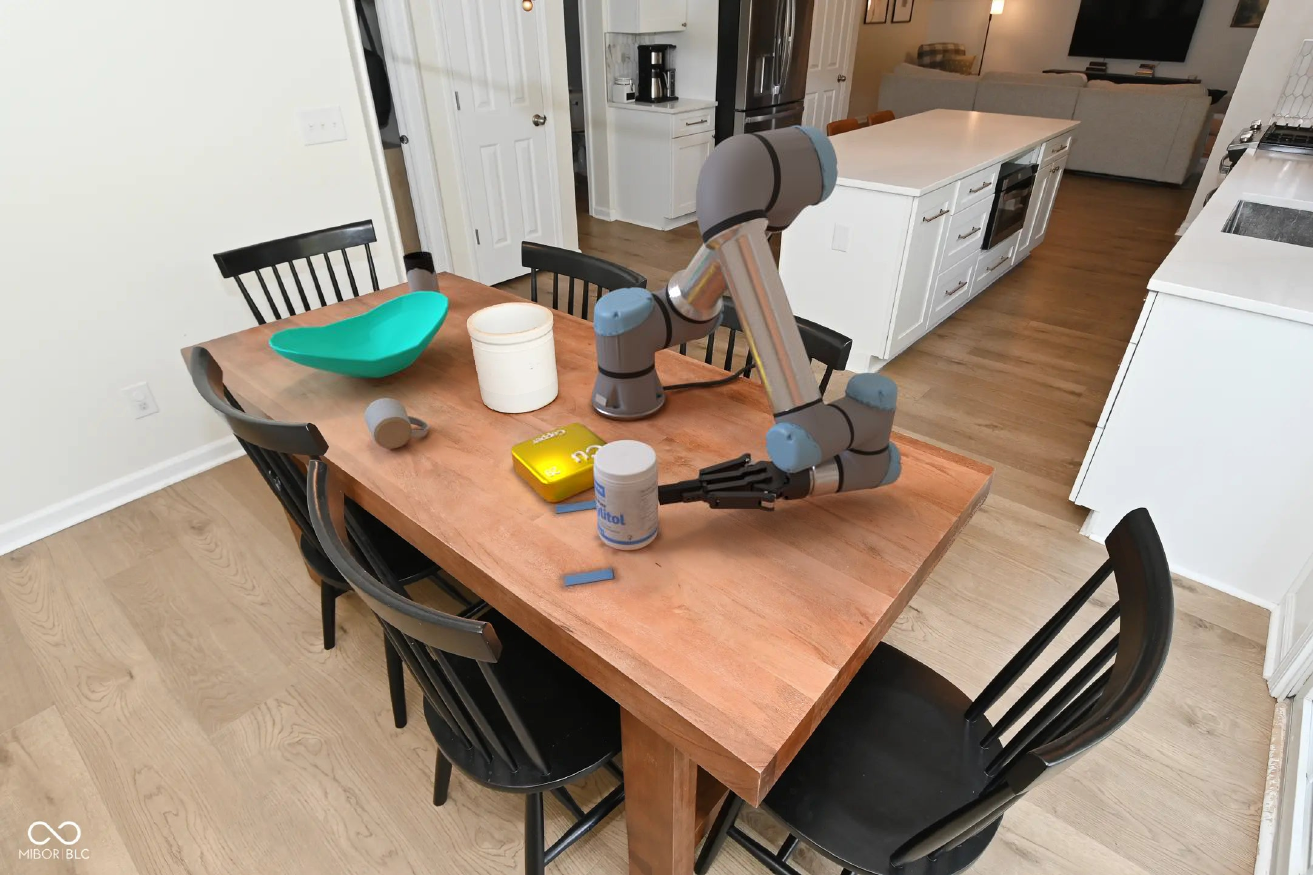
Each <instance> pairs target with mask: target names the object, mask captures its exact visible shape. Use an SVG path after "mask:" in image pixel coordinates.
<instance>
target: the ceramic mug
mask: <svg viewBox="0 0 1313 875" xmlns="http://www.w3.org/2000/svg"><path fill="white" fill-rule="evenodd" d="M364 422H365V424H366V426H367V428H368V430H369V433H370V434H371V437H372V439H373V440H374V442H375V443H376V444H377V445H378V446H379V447H381V448H384V449H387V450H394V449H398V448H402V447H403V446H405V445H406V444H407V443H408V442H409V441H410V440H411V438H423V437H425V436H427V435H428V432H429V424H428V423H427V422H426V421H424V420H423V419H421V418H419V417H415V416H411V415H408V413H407V410H406V408H405V406H404V405H403V403H401V401H398V400H397V399H394V398H390V397H382V398H379V399H376V400H374V401H372V402H371V403H369V405H368V406H367V408H366V410H365V413H364ZM413 425H414V426H417V427H420V428H421V429H420V430H419V429H417V430H416V429H413V427H412V426H413Z"/></svg>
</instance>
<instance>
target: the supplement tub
mask: <svg viewBox="0 0 1313 875" xmlns="http://www.w3.org/2000/svg"><path fill="white" fill-rule="evenodd" d="M607 443H608V444H606V445H604V446H603V447H601V448H600V449H599V450H598V451H597V452H596V454H595V457H594V483H595V486H594V496H595V500H596V508H595V510H596V523H597V532H598V533H597V534H598V536H599V538H600V539H601V541H602V542H603V543H604V544H605V545H607V546H608V547H610V548H612V549H615V550H619V551H635V550H639V549H643V548H644V547H647V546H648V545H650V544H651V543H652V542H653V541H654V540H655V538H656V537H657V535H658V531H659V501H658V486H659V476H658V475H659V469H658V468H659V466H658V464H659V463H658V460H657V459H658V457H657V452H656V451H655V449H654V448H653V447H651V445H649V444H648V443H645V442H642V441H638V440H633V439H620V440H615V441H612V442H607Z"/></svg>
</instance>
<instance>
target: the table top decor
mask: <svg viewBox="0 0 1313 875" xmlns="http://www.w3.org/2000/svg"><path fill="white" fill-rule="evenodd" d="M449 308H450V299H449V298H448V297H447V296H446V295H445V294H443V293H441V292H440V293H436V292H433V291H418V292H414V293H410V292H409V293H406V294H403V295H400V296H397V297H395V298H392V299H390V300H387V301H385V302H383V303H381V304H380V305H378V306H376V307H374V308H372V309H370V310H368V311H367V312H365V313H363V314H360V315H355V316H353V317H349V318H344V319H341V320H337V321H335V322H333V323H329V324H326V325H323V326H299V327H293V328H287V329H282V330H280V331H277V332H275V333H273V334H272V335H271V337H270V338H269V339H268V343H269V345H270V348H272V350H273V351H274V352H275V353H276V355H278V356H280V357H283V358H285V359H286V360H289V361H291V362H293V363H296V364H298V365H301V366H303V367H304V366H305V367H308V368H312V369H314V370H315V369H316V370H320V371H324V372H329V373H333V374H338V375H342V376H348V377H352V378H358V379H363V380H364V379H366V380H369V379H370V380H371V379H382V378H384V377H387V376H391V375H393V374H396V373H398V372H401V371H403V370H404V369H406V368H409V367H410V366H411V365H412V364H413V363H414V362H415V361H416V360H418V358H419V357H420V355H422V353H423V352H424V351H425V350H426V349H427V348H428V346H429V345H430V344H431V342H432V341H433V340H434V338H435V337H436V335H437V333H438V332H439V331H440V329H441V327H442V326H443V325H444V322H445V321H446V318H447V316H448V313H449Z"/></svg>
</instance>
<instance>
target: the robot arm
mask: <svg viewBox="0 0 1313 875" xmlns="http://www.w3.org/2000/svg"><path fill="white" fill-rule="evenodd" d="M837 158H838V157H837V153H836V150H835V148H834V145H833V143H832V141H831V140H830V138H829V137H828V136H827V134H826V133H825V132H823V131H822V130H821V129H820V128H818V127H816V126H813V125H792V126H788V127H781V128H776V129H770V130H764V131H757V132H752V133H751V132H750V133H740V134H736V135H733V136H729V137H728V138H726V139H724V140H722V141H721V142H720V143H718V144H717V145H715V147H714V148H713V149H712V150H711V151H710V152H709V154H708V155H707V157H706V159H705V160H704V163H703V164H702V166H701V168H700V171H699V174H698V179H697V184H696V190H695V212H696V220H697V225H698V229H699V232H700V235H701V238H702V241H703V243H702V245H701V246H700V248H699V249H698V251H697V252H696V254H695V255H694V256H693V258H692V260H691V261H690V263H689V264H688V266H687V267H686V268H684V269H681V270H678V271H677V272H675V273H674V274H672V276H671V278H670V279H669V281H668V282H667V284H666V285H665V287H663V288H662V289H660V290H655V291H649V290H648V289H646V288H643V287H637V286H636V287H632V286H631V287H630V288H627V287H622V288H619V289H618V288H617V289H615V290H612V291H610V292H608V293H606V294H604V295H603V296H601V297H600V298H599V299H598V301H597V302H596V304H595V305H594V309H593V324H592V325H593V330H594V337H595V338H594V339H595V350H596V351H595V352H596V362H597V374H596V378H595V382H594V385H593V389H592V393H591V407H592V410H593V411H594V412H595V413H596V414H597V415H599V416H600V417H602V418H605V419H609V420H613V421H618V422H620V421H621V422H633V421H639V420H643V419H647V418H650V417H652V416H654V415H656V414H657V413H659V412H660V411H661V410H662V409H663V408H664V406H665V402H666V399H665V398H666V395H665V392H666V391H667V392H668V391H673V390H681V389H689V388H701V387H703V388H704V387H712V386H713V387H714V386H719V385H724V384H727V383H729V382H732V381H734V380H735V379H737V378H739V377H740V376H741V375H742V374H744V373H745V372H747V371H749V370H752V369H755V368H756V371H757V375H758V377H759V380H760V383H761V386H762V389H763V391H764V394H765V396H766V399H767V402H768V406H769V409H770V411H771V414H772V416H773V421H774V423H775V424H774V425H772V426H771V427H770V428H769V429H768V430H767V433H766V435H765V441H766V445H765V449H766V452H767V455H768V456H769V459H770V460H758V461H756V460H754V459H753V458H752V454H751V453H750V452H745V453H743V454H741V455H740V456H739V457H736V458H733V459H730V460H726V461H723V462H719V463H716V464H712V465H709V466H705V467H704V468H703V467H702V468H700V469H699V470H698V477H697V478H694V479H693V478H692V479H687V480H680V481H677V482H675V483H667V484H666V483H665V484H660V485H659V484H658V505H659V506H666V505H667V506H668V505H673V504H681V503H683V504H689V503H696V502H697V503H698V502H703V503H707V505H708V507H709V508H710V509H711V510H760V511H765V512H774V511H775V504H776V501H777V500H780V499H781V500H783V501H787V502H788V501H797V500H803V499H806V498H807V497H808V498H810V499H811V498H816V497H823V496H829V495H834V494H841V493H848V492H854V491H863V490H874V489H877V488H880V487H885V486H889V485H893V484H894V483H895V482H897V481H898V480H899V478H900V476H901V474H902V468H903V466H902V464H901V463H902V462H901V461H902V455H901V452H900V450H899V448H898V446H897V445H896V443H894V442H893V441H891V440H890V439H891V434H892V431H893V430H892V429H893V426H894V419H895V416H896V411H897V408H898V406H897V400H898V394H899V390H898V389H899V388H898V385H897V383H896V382H895V381H894V380H893V379H892V378H890V377H888V376H885V375H883V374H880V373H876V372H860V373H856V374H854V375H852V376H851V377H850V379H848V381H847V384H846V388H845V389H844V394H845V395H844V396H842V397H840V398H837V399H835V400H832V401H831V402H828V403H825V401H824V399H823V396H822V394H821V390H820V387H819V384H818V382H817V379H816V376H815V373H814V370H813V367H812V365H811V362H810V358H809V356H808V352H807V350H806V348H805V345H804V341H803V339H802V336H801V333H800V329H799V327H798V324H797V321H796V318H795V316H794V313H793V310H792V307H791V304H790V302H789V298H788V295H787V293H786V290H785V287H784V284H783V281H782V278H781V275H780V273H779V270H778V267H777V263H776V261H775V258H774V255H773V252H772V250H771V246H770V243H769V241H768V239H769V238H770V236H771V235H772V234H778V233H782V232H783V231H786V230H787V229H788V228H789V227H790V226H791V225H792V224H793V223H794V221H795V220H796V219H797V217H798V216H799V215H800V214H801V213H802V212H803V211H804V210H805V209H806V208H807V207H809V206H812V207H815V206H818V205H820V204H821V203H823V202H825V201H826V200H827V199H829V197H830V196H831V195H832V193H833V192H834V190H835V187H836V184H837V181H838V173H839V171H838V159H837ZM727 290H728V294H729V296H730V298H731V301H732V305H733V307H734V309H735V313H736V316H737V318H738V321H739V324H740V328H741V330H742V332H743V335H744V337H745V340H746V344H747V346H748V349H749V352H750V356H751V357H752V360H753V363H750V364H748V365H746V366H744V367H742V368H741V369H739V370H738V371H737V372H735V373H733V374H732V375H730V376H728V377H725V378H721V379H717V380H710V381H709V380H708V381H698V382H687V383H677V384H670V385H663V384H662V382H661V380H660V377H659V374H658V371H657V369H656V353H657V352H660V351H664V350H667V349H670V348H673V347H676V346H679V345H682V344H686V343H688V342H692V341H697V340H698V341H699V340H701V339H704V338H706V337H708V336H710V335H712V334H713V333H715V332H716V331H717V330H718V328H719V327H720V326H721V324H722V322H723V319H724V314H723V312H724V311H725V304H724V300H723V296H724V295H725V293H726V292H727Z"/></svg>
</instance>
